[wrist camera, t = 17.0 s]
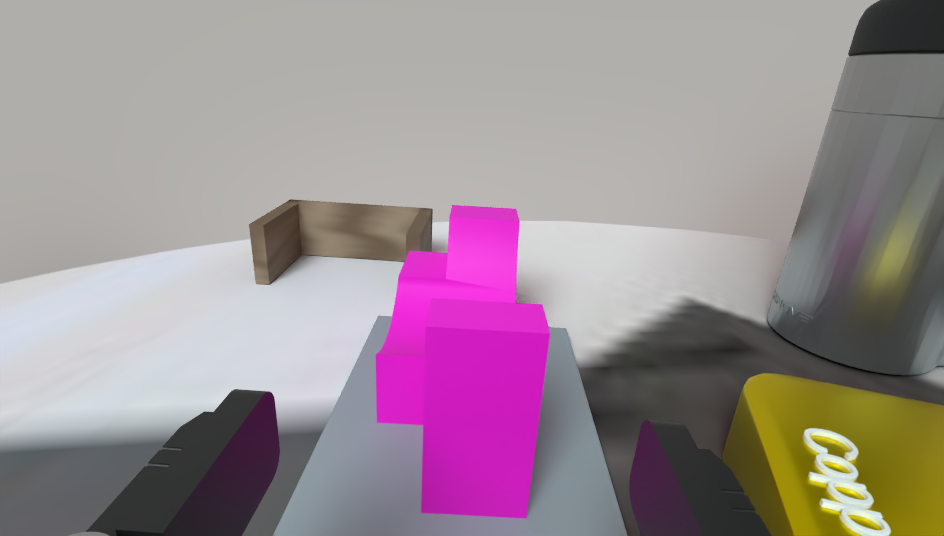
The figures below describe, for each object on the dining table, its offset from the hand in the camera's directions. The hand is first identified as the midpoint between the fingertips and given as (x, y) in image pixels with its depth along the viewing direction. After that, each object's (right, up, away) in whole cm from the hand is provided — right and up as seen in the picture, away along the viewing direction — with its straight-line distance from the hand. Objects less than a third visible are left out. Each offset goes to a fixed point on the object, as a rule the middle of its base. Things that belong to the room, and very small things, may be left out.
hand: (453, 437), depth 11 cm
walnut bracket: (-9, +4, +28) cm, 30 cm away
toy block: (-1, -2, +14) cm, 14 cm away
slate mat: (0, -3, +12) cm, 13 cm away
